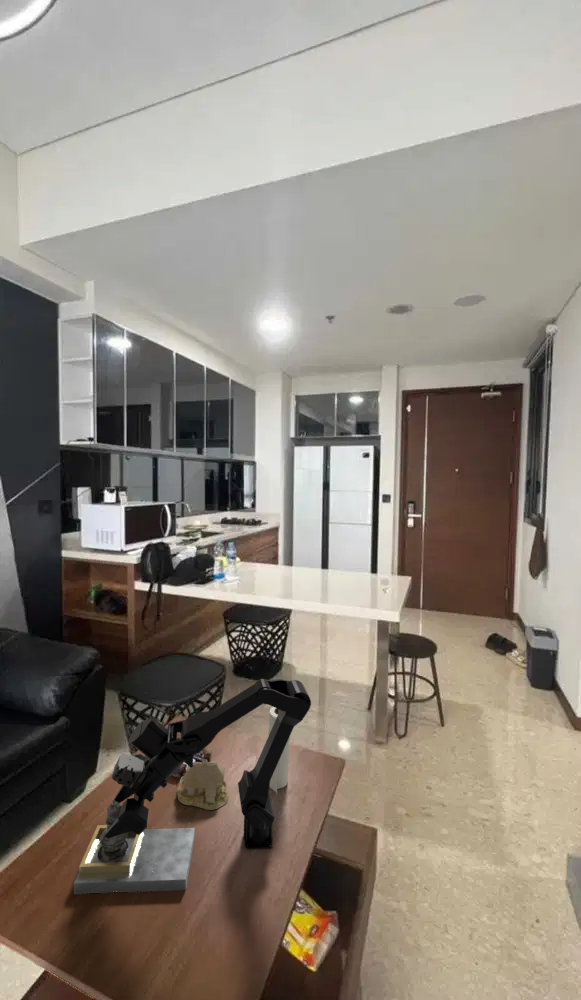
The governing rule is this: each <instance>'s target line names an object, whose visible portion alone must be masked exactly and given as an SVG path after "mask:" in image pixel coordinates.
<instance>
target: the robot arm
mask: <svg viewBox="0 0 581 1000" xmlns="http://www.w3.org/2000/svg"><path fill="white" fill-rule="evenodd" d="M262 705H268V706H271V707H275V708H277V709H279V710H278V716H277V718H276V720H275V723H274V725H273V727H272V730H271V732H270V734H269V733H268V737H267V739H266V741H265V744H264V746H263V748H262V750H261V752H260V754H259V757H258V759H257V761H256V763H255V766H254V767H253V768H252V769H251V770H250V771H248V770H246V769H244V770H243V773H242V777H241V779H240V780H239V781H238V782H237V787H238V793H239V795H238V796H239V801H240V810H241V813H242V815H243V816H244V817H243V837H242V838H243V840H244V848H245V850H249V849H250V850H251V849H252V850H253V849H255V850H257V849H272V848H273V824H274V823H275V820H276V819H275V815H274V809H273V805H272V801H271V796H270V780H271V778H272V776H273V773H274V771H275V769H276V767H277V764H278V762H279V760H280V757H281V755H282V753H283V751H284V748H285V746H286V744H287V742H288V739H289V740H290V738H289V737H291V734H292V732H293V730H294V728H295V727H296V726H297V725H298V724H300V723H301V722H302V721H303V720H304V718H305V717H306V716H307V714H308V712H309V711H310V709H311V707H312V701H311V697H310V695H309V694H308V691H307V690H306V688H305V686H304V684H303V683H302V682H301V681H300V680H298V679H294V680H293V679H292V680H287V679H271V680H270V679H264V678H260V679H258V680H256V682H255V683H254V684H253V685H250V686H248V688H246V689H244V690H243V691H241V692H239V693H238V694H236V695H235V696H233V697H231V698H230V699H228V700H227V701H225V702H223V703H222V704H220V705H219V706H217V707H215V708H213V709H211V710H208V711H199V712H198V713H196V714H193V715H191V716H188V717H186V718H185V719H183V720H179V721H176V722H175V721H174V722H170V723H168V724H167V727H166V726H164V725H162V724H161V723H160V722H159V721H158V719H157V718H156V717H155V716H151V717H150V718H146V719H144V720H142V721H141V722H139V723H138V725H137V726H136V727H135V728H134V730H133V731H132V733H131V735H129V738H128V743H129V744H130V745H131V746H133V747H134V748H135V749H137V750H138V751H139V752H140V753H138V754H134V755H130V754H128V753H127V754H126V753H121V754H120V755H119V757H118V759H117V761H116V763H115V766H114V767H113V771H112V775H111V778H112V780H113V781H115V782H116V783H117V785H121V786H120V788H119V790H118V792H117V794H116V795H115V796H114V799H113V800H112V802H111V803H113V801H114V800H115V801H116V802H118V803H120V804H121V803H122V802H123V803H122V805H121V806H120V807H119V812H118V818H117V819H116V820H115V822H114V823H113V824H112V825H111V827H110V828H109V829H108V831H107V832H106V834H105V837H106V838H112V837H115V836H118V835H120V834H124V833H127V832H131V831H133V832H135V833H136V834H137V835H140V834H141V833H142V832H143V831H144V830H145V829H148V825H149V824H148V822H149V816H150V815H149V811H150V810H149V808H148V807H146V806H145V800H147V802H149V803H151V802H152V801H153V800H154V798H155V797H154V796H155V793H156V792H157V790H158V789H160V788H161V787H162V788H163V789H164V788H165V787H167V786H168V781H169V780H168V779H170V777H172V775H173V774H174V773H175V772H176V771H177V770H178V769H179V768H180V767H181V766H182V765H183V764H186V765H187V766H189V767H193V762H194V757H195V755H197V754H199V753H201V752H202V751H203V750H204V749H206V748H207V747H208V746H209V745H210V744H211V743H212V742H213V740H215V738H216V737H217V735H218V734H219V733H220V732H221V731H223V730H224V729H226V728H227V727H229V726H230V725H232V724H233V723H235V722H236V721H238V720H240V719H241V718H243V717H245V716H246V715H248V714H249V713H251V712H252V711H255V710H256V709H257V708H259V707H260V706H262ZM178 733H179V734H180V735H179V736H180V738H179V739H178ZM141 753H142V754H141ZM131 796H133V797H131Z"/></svg>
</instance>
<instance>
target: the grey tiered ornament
mask: <svg viewBox="0 0 581 1000" xmlns="http://www.w3.org/2000/svg"><path fill="white" fill-rule="evenodd" d="M113 800H114V799H113ZM113 800H112V802H113V803H112V802H111V803H110V804H109V805H108V806H107V817H106V819H105V825H107V829H106V830H105V831H104V832H103V833H102V834H101V836H100V843H101V845H102V847H103V849H102V851H101V856H102V858H103V859H104V860H107V861H112V860H116V859H118V858H119V857H121V856H122V855H123V854H124V852H125V851H126V843H125V840H126V838H127V835H128V832H127V833H124V834H120V835H118V836H115V837H112V838H106V837H105V834H106V832H107V831H108V829H109V828H110V827H111V825H112V824H113V823H114V822H115V820H116V819H117V818H118V812H119V807H120V806H122V805H121V803H118V802H116V801H115V800H114V801H113Z"/></svg>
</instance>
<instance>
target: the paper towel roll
mask: <svg viewBox="0 0 581 1000" xmlns="http://www.w3.org/2000/svg"><path fill="white" fill-rule="evenodd" d="M278 710H279V709H277V708H275V707H273V706H271V707H270V709H269V712H268V713H269V716H268V735H269V734H270V732H271V730H272V727H273V725H274V723H275V720H276V718H277V716H278ZM290 737H291V736H290ZM290 737H289V739H288V742H287V744H286V746H285V748H284V751H283V753H282V755H281V757H280V760H279V762H278V764H277V767H276V769H275V771H274V773H273V776H272V778H271V780H270V787H269V789H271V790H272V791H273V792H275V794H276V795H278V789H279V790H280V789H283V788H285V787H286V786H287V784H288V781H289V763H290V761H289V760H290V759H289V758H290Z"/></svg>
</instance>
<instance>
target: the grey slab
mask: <svg viewBox="0 0 581 1000" xmlns="http://www.w3.org/2000/svg"><path fill="white" fill-rule="evenodd" d="M106 829H107V825H106V824H100V825H99V824H97V826H96V829H95V830H94V833H93V835H92V837H91V839H90V841H89V844H88V846H87V848H86V851H85V852H84V855H83V857H82V860H81V862H80V864H79V867H78V873H77V875H76V877H75V880H74V882H73V895H90V894H89V893H101V894H103V893H102V892H113V891H114V892H116V891H117V892H128V893H146V892H147V891H148V892H147V893H149V892H150V891H152V892H153V891H154V892H174V891H176V892H177V891H178V892H179V891H186V890H187V885H188V880H189V879H188V878H189V872H190V868H191V862H192V856H193V850H194V845H195V838H196V832H195V831H196V828H195V827H181V828H180V827H177V828H146V829H145V830H144V831H143V832H142V833H141V834H140V835H137V834H136V833H135V832H133V831H131V832H128V835H127V838H126V840H125V843H126V851H125V852H124V854H123V855H122V856H121V857H119V858H118V859H116V860H112V861H107V860H104V859H103V858H102V856H101V851H102V849H103V847H102V845H101V843H100V836H101V834H102V833H103V832H104V831H105V830H106ZM137 891H138V892H137ZM140 891H141V892H140ZM143 891H144V892H143ZM145 891H146V892H145ZM152 892H151V893H152ZM87 893H88V894H87Z"/></svg>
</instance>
